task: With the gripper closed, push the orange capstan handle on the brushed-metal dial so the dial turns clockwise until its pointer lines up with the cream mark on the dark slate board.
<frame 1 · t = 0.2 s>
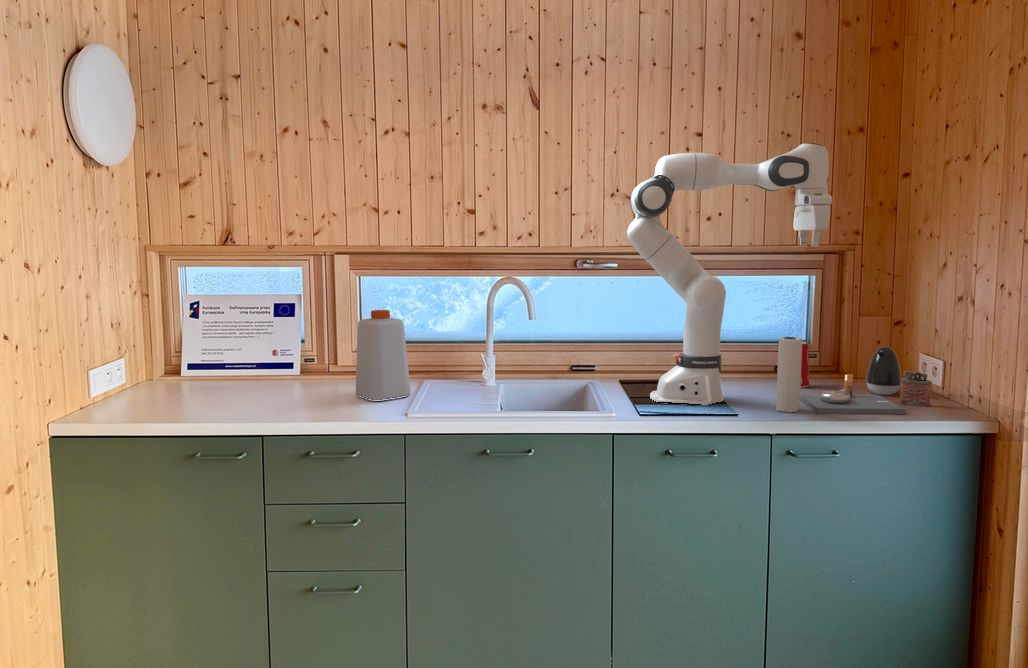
hand: (809, 246, 215), 47 cm above the table, fingers open, 8 cm apart
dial: (841, 387, 216), point 5 cm above the table, hinge at 50.0°
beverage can: (798, 387, 241), on the table
slate board: (848, 406, 213), on the table
plastic bottle: (383, 396, 233), on the table
black egg-shaped dome: (882, 394, 229), on the table
paper towel roll: (789, 411, 209), on the table
brown boxy piece: (914, 405, 214), on the table
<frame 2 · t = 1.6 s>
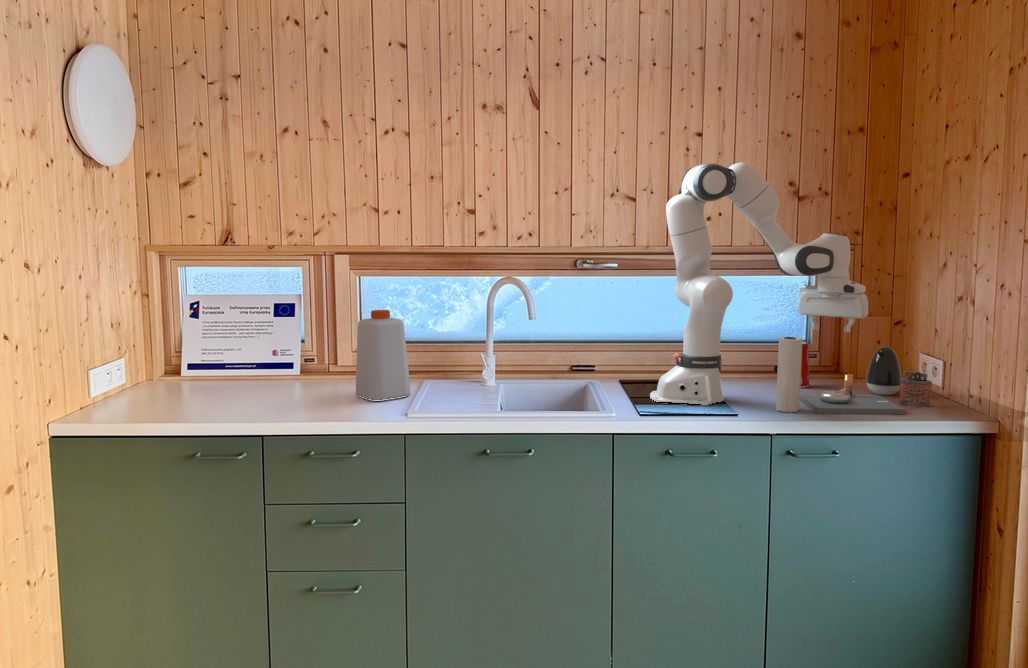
hand: (831, 331, 222), 21 cm above the table, fingers open, 8 cm apart
nothing on the table moved.
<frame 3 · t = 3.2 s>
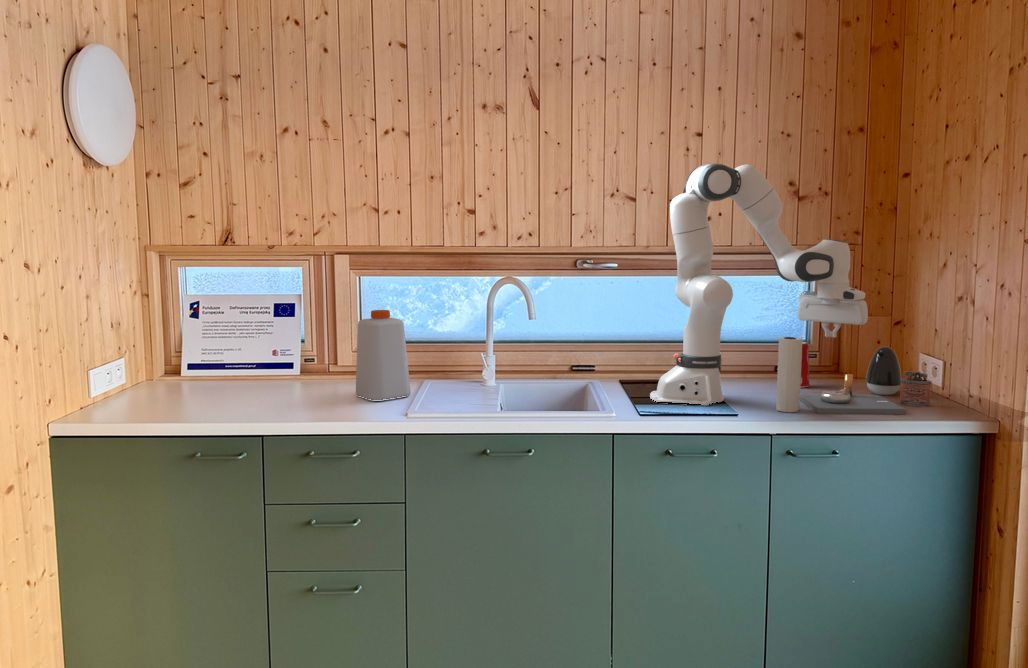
hand: (830, 337, 222), 19 cm above the table, fingers closed
nothing on the table moved.
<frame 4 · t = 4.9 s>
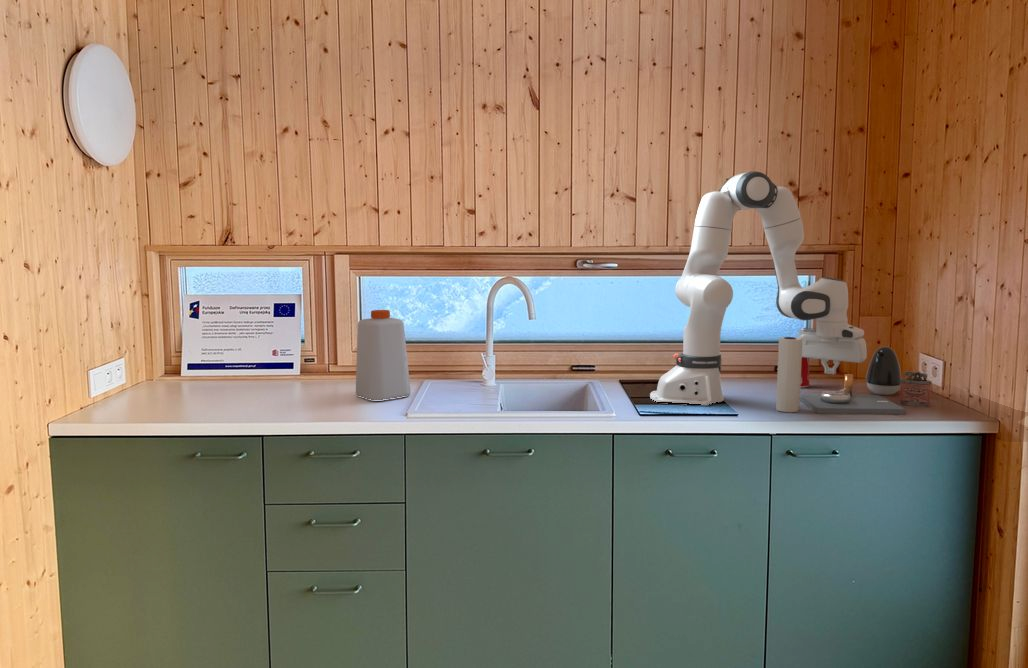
hand: (830, 373, 224), 8 cm above the table, fingers closed
nothing on the table moved.
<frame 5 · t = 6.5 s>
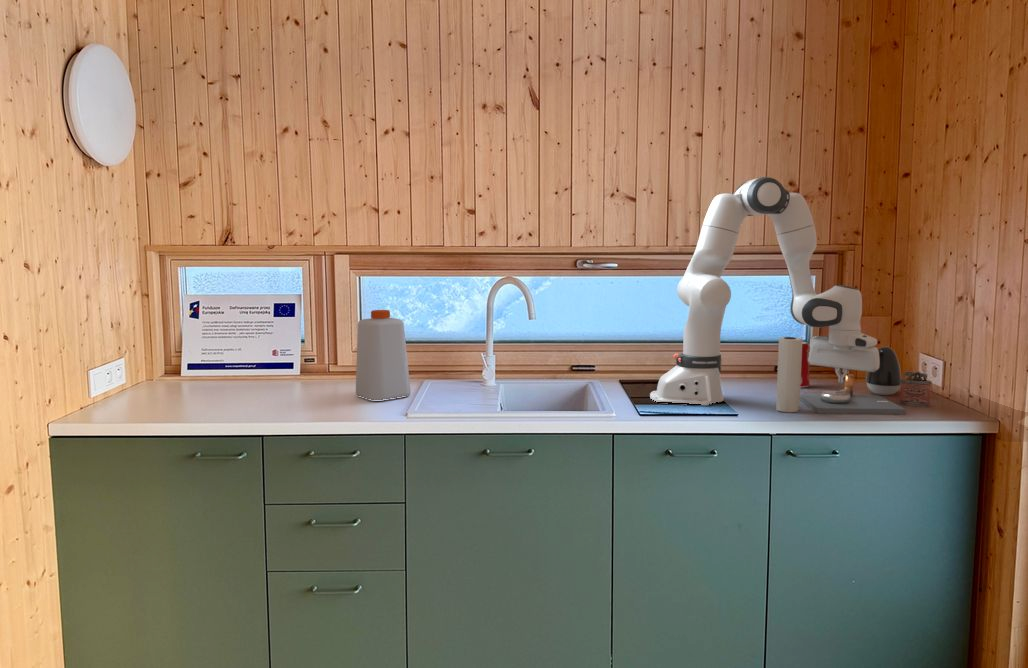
hand: (841, 382, 221), 5 cm above the table, fingers closed
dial: (841, 387, 216), point 5 cm above the table, hinge at 48.9°, touching gripper
everything else where it was.
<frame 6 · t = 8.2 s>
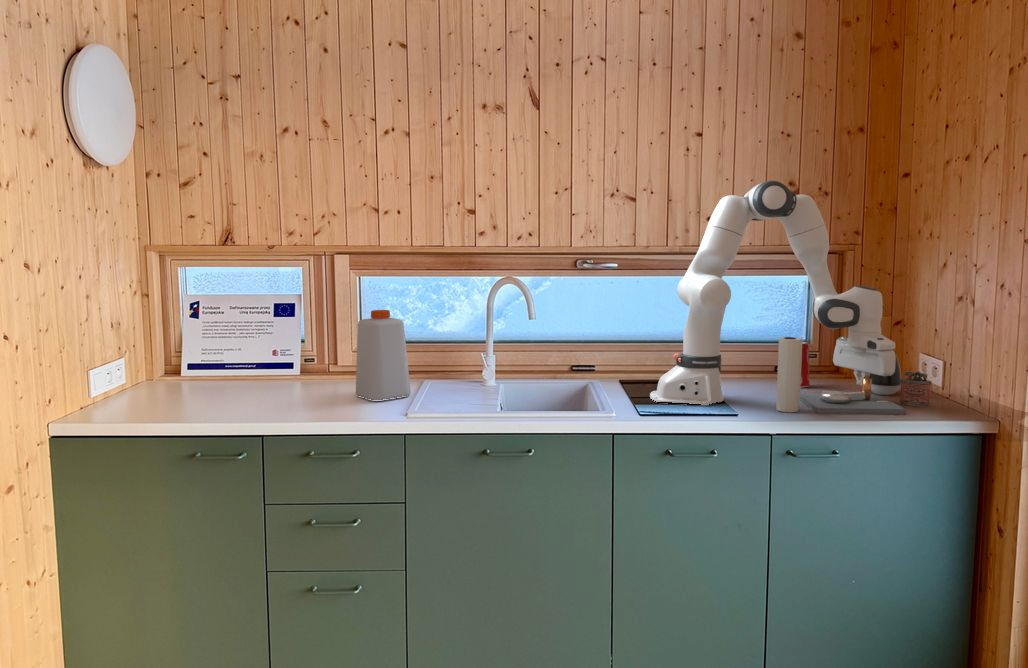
hand: (861, 385, 217), 5 cm above the table, fingers closed
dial: (849, 389, 213), point 5 cm above the table, hinge at 13.3°, touching gripper
everything else where it was.
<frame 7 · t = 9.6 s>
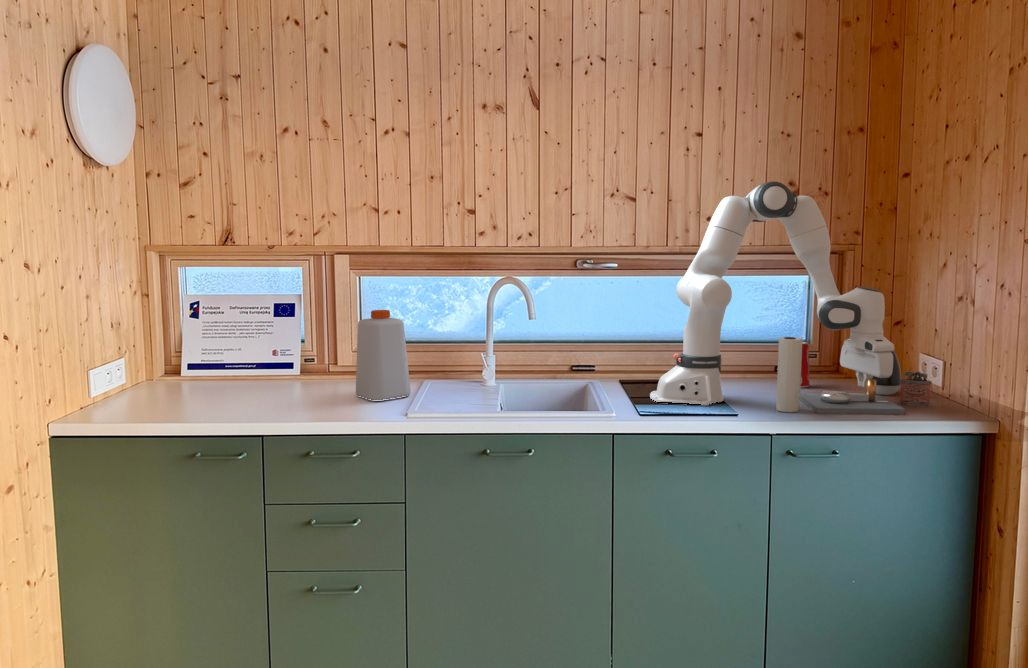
hand: (863, 387, 216), 5 cm above the table, fingers closed
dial: (851, 390, 212), point 5 cm above the table, hinge at -1.9°
everything else where it was.
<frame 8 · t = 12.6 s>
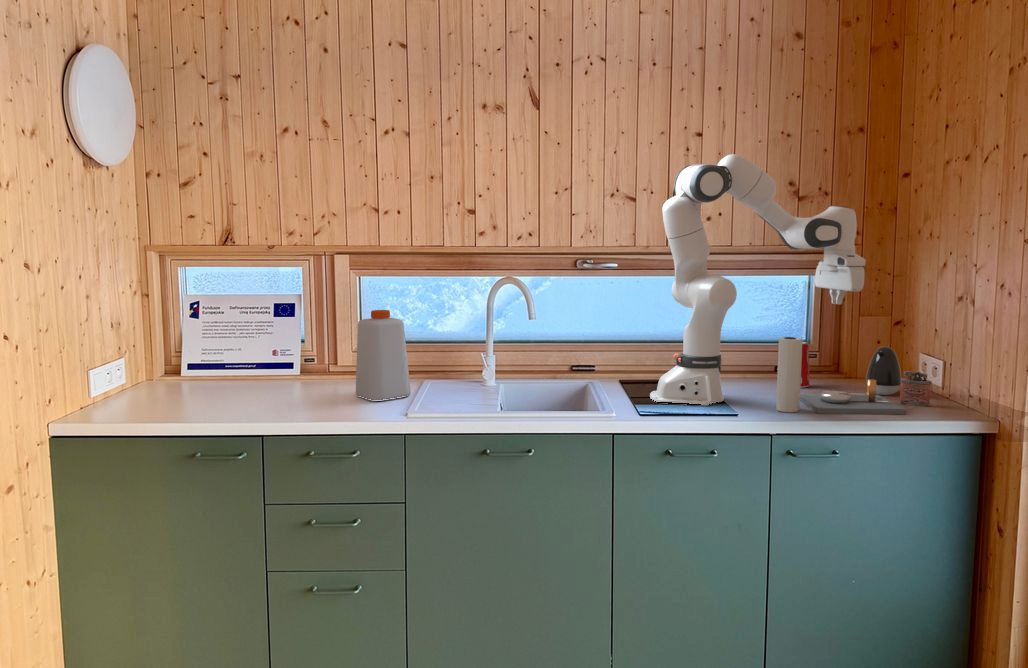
hand: (836, 304, 223), 29 cm above the table, fingers closed
nothing on the table moved.
at the end: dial at -2° (first picture: +50°) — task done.
